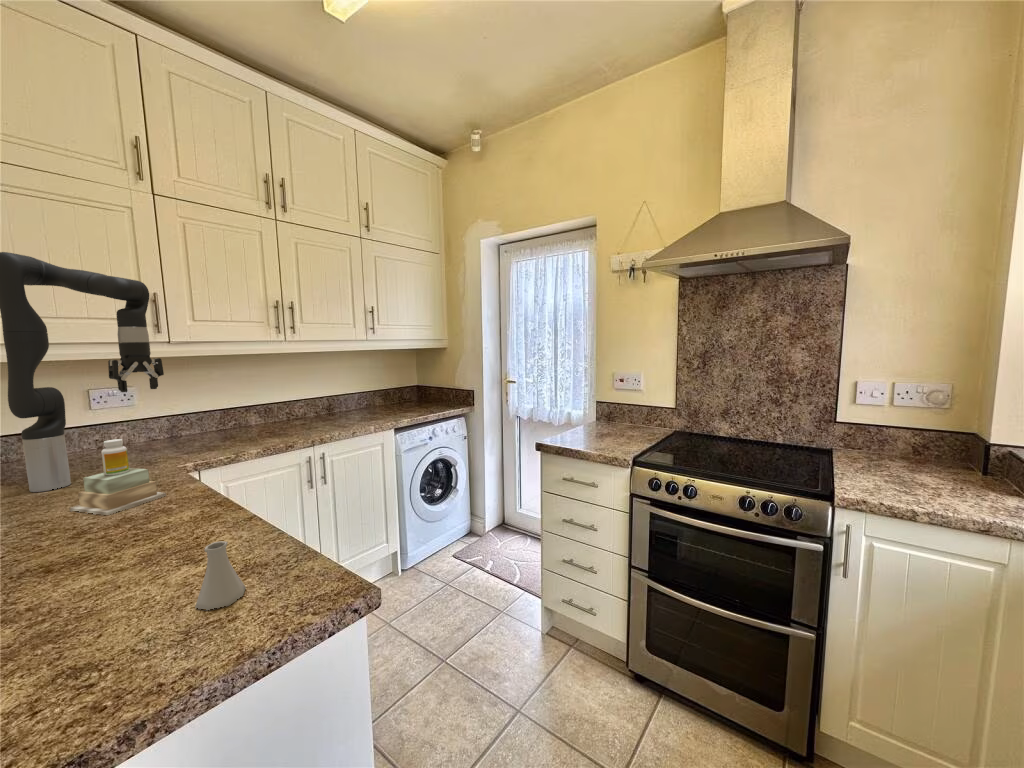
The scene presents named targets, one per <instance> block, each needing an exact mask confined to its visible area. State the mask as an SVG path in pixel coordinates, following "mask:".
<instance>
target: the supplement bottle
mask: <svg viewBox="0 0 1024 768" xmlns="http://www.w3.org/2000/svg"><path fill="white" fill-rule="evenodd" d="M103 446H104V448H103V449H102V450H101V452H100V453H101V461H102V462H101V463H102V470H103V473H104V475H106V476H111V475H119V474H123V473H126V472H128V471H129V468H130V466H129V465H130V463H129V456H128V448H127V447H126V446H124V440H123V439H122V438H115V439H110V440H109V439H108V440H104V441H103Z"/></svg>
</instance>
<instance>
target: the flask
mask: <svg viewBox="0 0 1024 768" xmlns="http://www.w3.org/2000/svg"><path fill="white" fill-rule="evenodd" d="M227 545H228V541H222V540H220V541H215V542H212V543H209V544H208V545H206V546H205V548H204V552H205V553H206V557H207V563H206V569H205V574H204V577H203V581H202V584H201V587H200V589H199V593H198V597H197V600H196V603H195V606H194V609H195V608H198V609H197V610H201V609H206V610H205V611H208V610H209V611H211V610H210V609H213V610H215V609H214V608H217V609H220V607H222V608H224V606H226V607H229V606H231V604H233V603H235V602H236V601H237V599H238V600H240V597H241V598H242V597H243V596H244V595H245V594H244V593H245V590H246V588H247V587H246V586H245V584H244V583H243V581H242V579H241V577H239V575H238V573H237V572H236V570H235V569H234V567H233V565H232V564H231V562H230V559H229V556H228V554H227V547H228V546H227Z"/></svg>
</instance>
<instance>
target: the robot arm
mask: <svg viewBox="0 0 1024 768" xmlns="http://www.w3.org/2000/svg"><path fill="white" fill-rule="evenodd" d="M25 286H30V287H31V286H50V287H60V288H65V289H69V290H72V291H75V292H79V293H84V294H88V295H89V294H90V295H93V296H101V297H105V298H109V299H112V300H113V299H114V300H118V301H124V302H125V306H124V308H119V309H117V311H116V323H117V344H118V351H119V356H120V359H119V360H117V359H109V360H108V361H107V363H108V366H107V367H108V378H109V379H110V380H115V381H117V389H118V391H120V393H127V392H128V383H127V382H128V381H127V380H126V379H127V378H128V376H129V375H131V374H132V373H144V374H146V375H147V376H148V377H149V380H148V381H149V389H150V390H157V389H158V387H159V380H158V378H159V377H162V376H164V375H165V374H164V373H165V372H164V367H163V361H162V358H160V357H153V358H151V354H152V353H151V347H150V346H151V345H150V335H149V331H148V326H147V317H146V316H147V315H146V314H147V312H148V311H147V310H148V306H149V302H150V291H149V289H148V287H147V285H146V284H145V283H144V282H142V281H140V280H136V279H129V278H125V277H119V276H111V275H107V274H103V273H100V272H94V271H88V270H85V269H84V270H82V269H74V268H67V267H63V266H58V265H55V264H52V263H49V262H47V261H44V260H41V259H38V258H35V257H33V256H29V255H25V254H20V253H19V254H18V253H13V252H8V251H0V317H1V324H2V326H1V327H2V328H1V329H2V336H3V337H2V338H3V342H4V349H5V355H6V356H5V357H6V363H7V364H6V365H7V402H8V408H9V410H10V412H11V413H12V415H13V416H15V417H16V418H19V419H30V418H37V420H36V421H35V423H33V424H32V425H30V426H28V427H27V428H24V429H22V431H21V439H22V446H23V447H22V448H23V453H24V462H25V468H26V475H27V476H26V477H27V482H28V489H29V492H31V493H37V492H38V493H39V492H40V493H41V492H48V491H53V490H52V489H54V490H58V489H61V487H62V488H65V487H68V486H70V485H72V480H71V472H70V467H69V466H70V465H69V458H68V451H67V442H66V436H65V428H66V425H67V424H66V423H67V422H66V420H67V419H66V403H65V398H64V395H63V394H62V392H61V391H60V390H59V389H58V388H56V387H51V386H46V387H34V386H35V385H34V380H35V379H34V376H35V372H36V370H37V369H38V366H39V365H40V363H41V362H42V361H43V359H44V358H45V356H46V354H47V353H48V350H49V348H50V342H49V334H48V328H47V326H46V323H45V322H44V320H43V319H42V318H41V316H40V315H39V314H38V312H36V310H35V309H34V308H33V306H32V305H31V303H30V302H29V300H28V297H27V294H26V289H25ZM151 365H153V368H152V367H151ZM120 366H122V368H121V369H120V370H119V367H120ZM57 488H58V489H57Z"/></svg>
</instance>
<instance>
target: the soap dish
mask: <svg viewBox="0 0 1024 768" xmlns="http://www.w3.org/2000/svg"><path fill="white" fill-rule="evenodd" d="M82 478H83V479H82V480H83V486H84V487H83V488H84V490H82V491H78V493H77V495H78V500H79V504H78V505H74V506H70V507H69V512H72V511H79V512H78V513H80V512H87V513H86V514H88V513H93V514H92V515H96V514H101V515H100V516H103V515H109V516H111V515H114V514H117V513H119V512H118V511H120V512H123V511H126V510H130V509H133V508H135V507H138V506H141V505H143V503H144V504H147V503H150V502H153V501H155V499H156V500H159V499H161V497H162V498H164V496H165V497H167V493H166V492H161V491H157V483H156V482H157V481H156V480H155V481H154V480H150V474H149V469H148V468H147V469H146V468H138V467H137V468H136V467H135V468H134V467H129V471H128V472H126V473H123V474H119V475H111V476H106V475H104V472H101V473H96V474H93V475H90V476H85V477H82ZM158 498H159V499H158ZM152 500H153V501H152ZM149 501H150V502H149ZM146 502H147V503H146ZM140 504H141V505H140ZM125 509H126V510H125ZM122 510H123V511H122ZM116 512H117V513H116ZM113 513H114V514H113ZM110 514H111V515H110Z"/></svg>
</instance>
